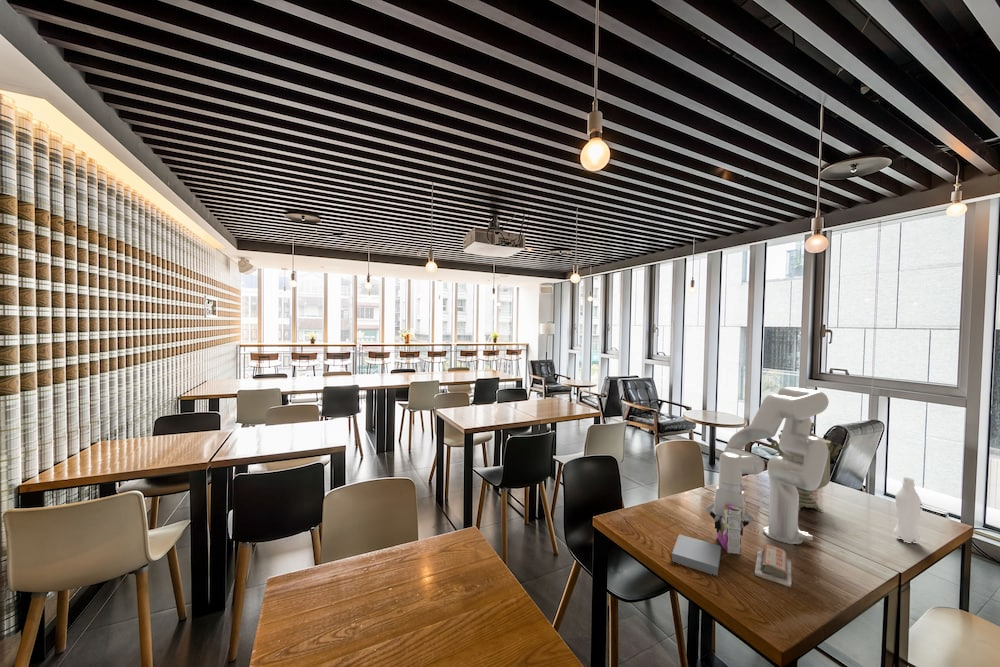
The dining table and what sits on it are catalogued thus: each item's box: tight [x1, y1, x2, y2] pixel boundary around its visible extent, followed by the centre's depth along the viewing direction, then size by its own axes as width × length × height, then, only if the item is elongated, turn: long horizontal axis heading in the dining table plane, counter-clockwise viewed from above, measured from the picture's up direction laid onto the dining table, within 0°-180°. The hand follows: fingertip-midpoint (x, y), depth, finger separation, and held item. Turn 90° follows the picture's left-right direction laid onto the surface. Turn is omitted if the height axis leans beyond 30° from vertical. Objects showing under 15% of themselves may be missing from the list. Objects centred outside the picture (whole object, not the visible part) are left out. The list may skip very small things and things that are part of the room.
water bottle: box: [893, 476, 922, 543], centre depth 157 cm, size 7×7×25 cm
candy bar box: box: [716, 505, 742, 555], centre depth 148 cm, size 11×5×16 cm, turn 168°
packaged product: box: [754, 543, 792, 588], centre depth 134 cm, size 18×5×10 cm
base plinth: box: [671, 533, 722, 577], centre depth 139 cm, size 14×16×3 cm
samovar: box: [766, 421, 845, 512], centre depth 185 cm, size 30×26×40 cm
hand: (728, 533), depth 148 cm, fingers closed on candy bar box, 6 cm apart
